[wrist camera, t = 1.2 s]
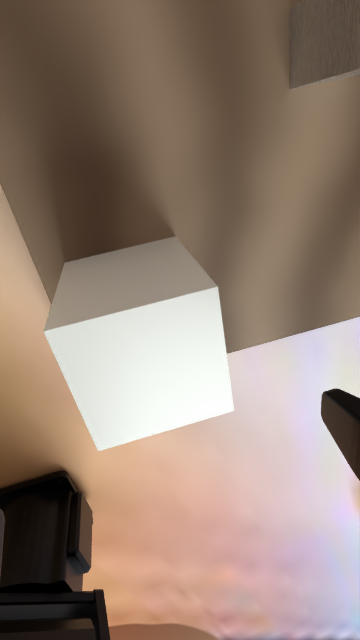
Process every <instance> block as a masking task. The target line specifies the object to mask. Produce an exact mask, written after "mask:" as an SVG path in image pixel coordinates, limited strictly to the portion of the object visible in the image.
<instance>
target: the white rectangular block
mask: <svg viewBox="0 0 360 640" xmlns="http://www.w3.org/2000/svg"><path fill="white" fill-rule="evenodd" d="M44 334H45V336H46V338H47V340H48V342H49V345H50V347H51V349H52V351H53V353H54V355H55V358H56V360H57V362H58V364H59V366H60V369H61V371H62V373H63V375H64V377H65V380H66V382H67V384H68V386H69V388H70V391H71V393H72V395H73V397H74V399H75V401H76V404H77V406H78V408H79V410H80V412H81V415H82V417H83V419H84V421H85V423H86V426H87V428H88V430H89V432H90V434H91V436H92V439H93V441H94V443H95V445H96V447H97V450H98V451H101V450H104V449H108V448H111V447H114V446H118V445H121V444H124V443H128V442H131V441H134V440H138V439H141V438H144V437H148V436H151V435H154V434H158V433H161V432H165V431H168V430H171V429H175V428H178V427H181V426H185V425H188V424H191V423H195V422H198V421H201V420H205V419H208V418H211V417H215V416H218V415H222V414H225V413H228V412H232V411H234V406H233V399H232V391H231V383H230V376H229V368H228V360H227V353H226V345H225V337H224V330H223V322H222V314H221V307H220V299H219V291H218V286H217V285H216V284H215V283H214V281H213V280H212V279H211V278H210V277H209V275H208V274H207V273H206V272H205V271H204V269H203V268H202V267H201V266H200V265H199V263H198V262H197V261H196V260H195V259H194V257H193V256H192V255H191V254H190V253H189V252H188V250H187V249H186V248H185V247H184V246H183V244H182V243H181V242H180V241H179V240H178V238H177V237H176V236H175V237H170V238H166V239H162V240H158V241H154V242H149V243H145V244H141V245H137V246H133V247H128V248H124V249H120V250H116V251H112V252H107V253H103V254H99V255H95V256H91V257H86V258H82V259H78V260H74V261H70V262H65V263H64V267H63V270H62V273H61V276H60V280H59V283H58V286H57V289H56V293H55V296H54V299H53V302H52V306H51V309H50V312H49V315H48V319H47V322H46V325H45V328H44Z"/></svg>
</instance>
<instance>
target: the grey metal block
mask: <svg viewBox="0 0 360 640" xmlns="http://www.w3.org/2000/svg"><path fill="white" fill-rule="evenodd" d="M289 63H290V89H295V88H300V87H305V86H310V85H315V84H320V83H325V82H330V81H335V80H340V79H345V78H349V77H353V76H356V75H360V0H301V1H300V2H298V3H297V4H296V5H294V6H293V7H292V8H290V9H289Z"/></svg>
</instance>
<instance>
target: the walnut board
mask: <svg viewBox="0 0 360 640" xmlns="http://www.w3.org/2000/svg"><path fill="white" fill-rule="evenodd" d="M300 1H301V0H0V183H1V185H2V188H3V190H4V193H5V195H6V197H7V200H8V202H9V204H10V207H11V209H12V212H13V214H14V216H15V219H16V221H17V223H18V226H19V228H20V231H21V233H22V235H23V238H24V240H25V242H26V245H27V247H28V250H29V252H30V254H31V257H32V259H33V261H34V264H35V266H36V269H37V271H38V273H39V276H40V278H41V280H42V283H43V285H44V288H45V290H46V292H47V295H48V297H49V299H50V302H51V304H52V302H53V299H54V296H55V293H56V289H57V286H58V283H59V280H60V276H61V273H62V270H63V267H64V263H65V262H70V261H74V260H78V259H82V258H86V257H91V256H95V255H99V254H103V253H107V252H112V251H116V250H120V249H124V248H128V247H133V246H137V245H141V244H145V243H149V242H154V241H158V240H162V239H166V238H170V237H175V236H176V237H177V238H178V240H179V241H180V242H181V243H182V244H183V246H184V247H185V248H186V249H187V250H188V252H189V253H190V254H191V255H192V256H193V257H194V259H195V260H196V261H197V262H198V263H199V265H200V266H201V267H202V268H203V269H204V271H205V272H206V273H207V274H208V275H209V277H210V278H211V279H212V280H213V281H214V283H215V284H216V285H217V286H218V291H219V299H220V307H221V314H222V322H223V330H224V337H225V345H226V353H231V352H235V351H238V350H242V349H245V348H249V347H252V346H256V345H260V344H263V343H267V342H270V341H274V340H278V339H281V338H285V337H288V336H292V335H295V334H299V333H303V332H306V331H310V330H313V329H317V328H320V327H324V326H328V325H331V324H335V323H338V322H342V321H346V320H349V319H353V318H356V317H360V75H356V76H353V77H349V78H345V79H340V80H335V81H330V82H325V83H320V84H315V85H310V86H305V87H300V88H295V89H290V63H289V9H290V8H292V7H293V6H294V5H296V4H297V3H298V2H300Z"/></svg>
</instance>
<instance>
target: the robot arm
mask: <svg viewBox="0 0 360 640" xmlns="http://www.w3.org/2000/svg"><path fill="white" fill-rule="evenodd" d="M321 416H322V419H323V422H324V423H325V425H326V427H327V428H328V430H329V432H330V433H331V435H332V437H333V439H334V440H335V442H336V444H337V445H338V447H339V449H340V450H341V452H342V454H343V455H344V457H345V459H346V461H347V462H348V464H349V466H350V467H351V469H352V470H353V472H354V473H355V475H356V476H357V478H358V479H359V481H360V398H358V397H356V396H354V395H351V394H349V393H347V392H345V391H343V390H340V389H332V390H328V391H325V392H323V394H322V401H321ZM92 524H93V517H92V510H91V508H90V507H89V505H88V503H87V501H86V499H85V497H84V496H83V494H82V493H81V492H80V491H78V490H77V488H76V486H75V485H74V483H73V481H72V479H71V477H70V476H69V474H68V473H67V472H64V471H61V472H57V473H53V474H50V475H47V476H43V477H40V478H37V479H33V480H30V481H27V482H23V483H20V484H17V485H13V486H10V487H7V488H3V489H0V640H110V635H109V627H108V620H107V613H106V606H105V599H104V592H103V589H94V590H93V591H82V586H83V574H84V573H87V572H89V570H90V568H91V546H92Z"/></svg>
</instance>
